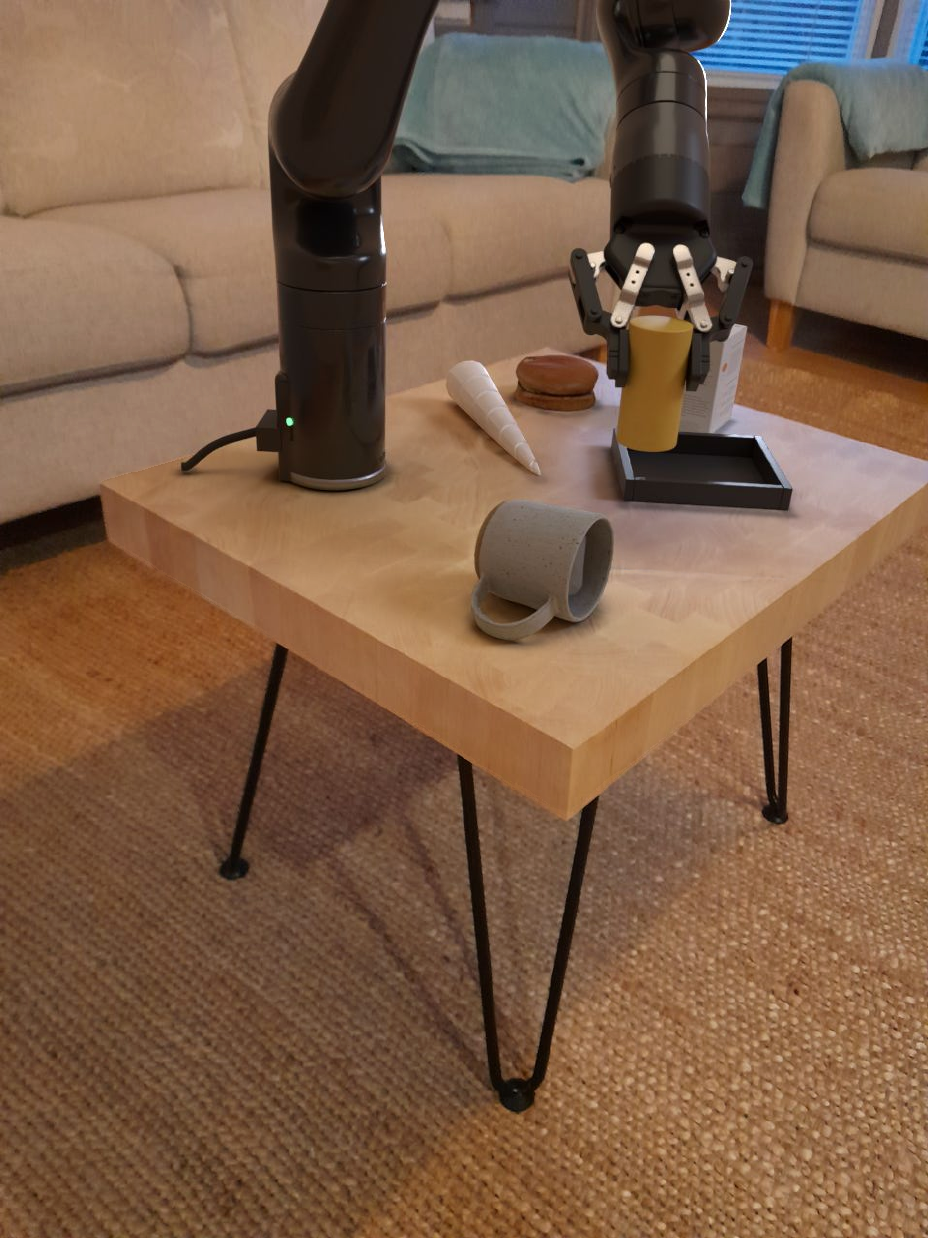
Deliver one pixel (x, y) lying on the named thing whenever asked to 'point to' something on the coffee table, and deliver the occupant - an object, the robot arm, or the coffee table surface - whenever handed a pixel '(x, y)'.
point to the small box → (715, 387)
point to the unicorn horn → (488, 409)
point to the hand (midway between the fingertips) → (657, 383)
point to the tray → (704, 473)
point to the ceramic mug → (541, 563)
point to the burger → (556, 382)
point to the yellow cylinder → (654, 383)
